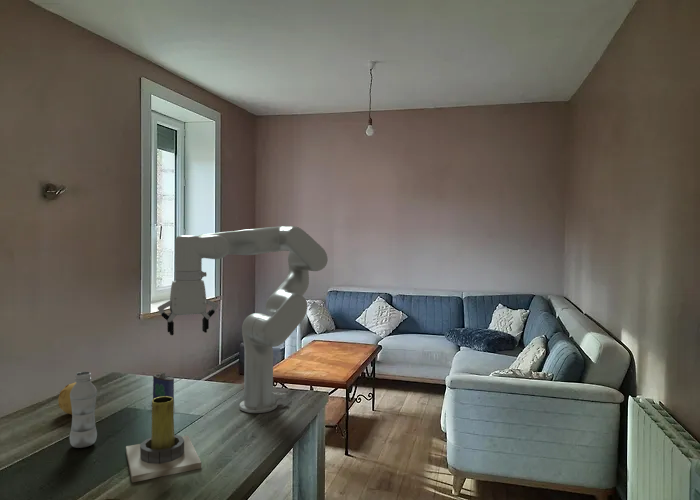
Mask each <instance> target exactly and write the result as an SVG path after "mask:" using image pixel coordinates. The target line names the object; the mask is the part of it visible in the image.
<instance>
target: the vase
mask: <svg viewBox="0 0 700 500" xmlns="http://www.w3.org/2000/svg"><path fill="white" fill-rule="evenodd" d="M173 400H174V401H175V398H174V399H173V398H172V397H169V396H162V397H157V398H154V399H153V398H152V400H151V437H150V438H151V449H155V450H161V449H167V448H170V447H173V446H175V437H174V435H175V422H174V421H175V420H174V414H175V413H174V404H173Z"/></svg>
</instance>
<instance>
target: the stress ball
mask: <svg viewBox="0 0 700 500" xmlns="http://www.w3.org/2000/svg"><path fill="white" fill-rule="evenodd" d="M75 384H76V382H72V383H69V384H67V385H65V386H64V388H63V389H61V390H60V392H59V395H58V400H57V402H58V407H59V408H60V410H61V411H62V412H64V413H66V414H68V415H70V416H72V406H71V400H70V392H71V390H72V388H73V387H74V385H75Z"/></svg>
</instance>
